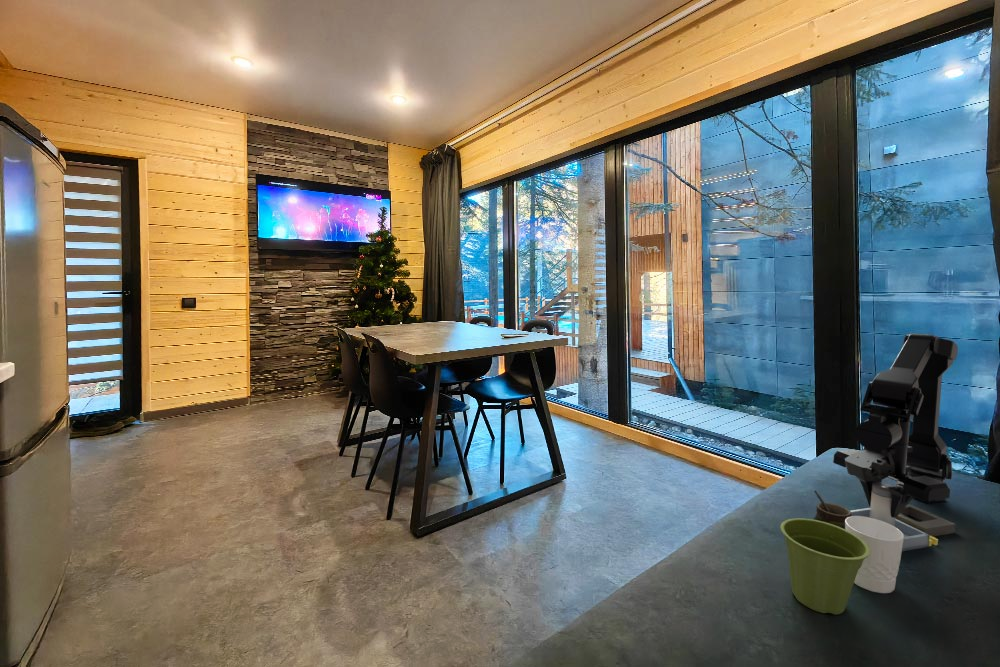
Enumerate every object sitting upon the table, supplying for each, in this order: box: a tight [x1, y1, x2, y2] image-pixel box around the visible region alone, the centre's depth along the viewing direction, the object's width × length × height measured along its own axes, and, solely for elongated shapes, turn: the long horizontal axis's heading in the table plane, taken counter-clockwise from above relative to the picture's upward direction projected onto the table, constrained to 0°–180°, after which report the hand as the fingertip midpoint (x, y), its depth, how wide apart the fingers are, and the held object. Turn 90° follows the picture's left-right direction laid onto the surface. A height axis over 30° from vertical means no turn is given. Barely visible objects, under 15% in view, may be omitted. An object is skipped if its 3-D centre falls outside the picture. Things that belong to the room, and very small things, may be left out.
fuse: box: [869, 482, 895, 527], centre depth 92 cm, size 4×4×9 cm
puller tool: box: [929, 536, 939, 547], centre depth 92 cm, size 9×2×1 cm, turn 12°
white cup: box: [845, 516, 904, 594], centre depth 77 cm, size 8×8×10 cm
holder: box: [895, 503, 956, 537], centre depth 96 cm, size 10×8×2 cm
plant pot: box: [780, 517, 870, 615], centre depth 73 cm, size 12×12×11 cm
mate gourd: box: [813, 490, 851, 529], centre depth 88 cm, size 7×8×10 cm
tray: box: [849, 507, 930, 552], centre depth 92 cm, size 11×9×2 cm
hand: (882, 511), depth 92 cm, fingers closed on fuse, 4 cm apart
